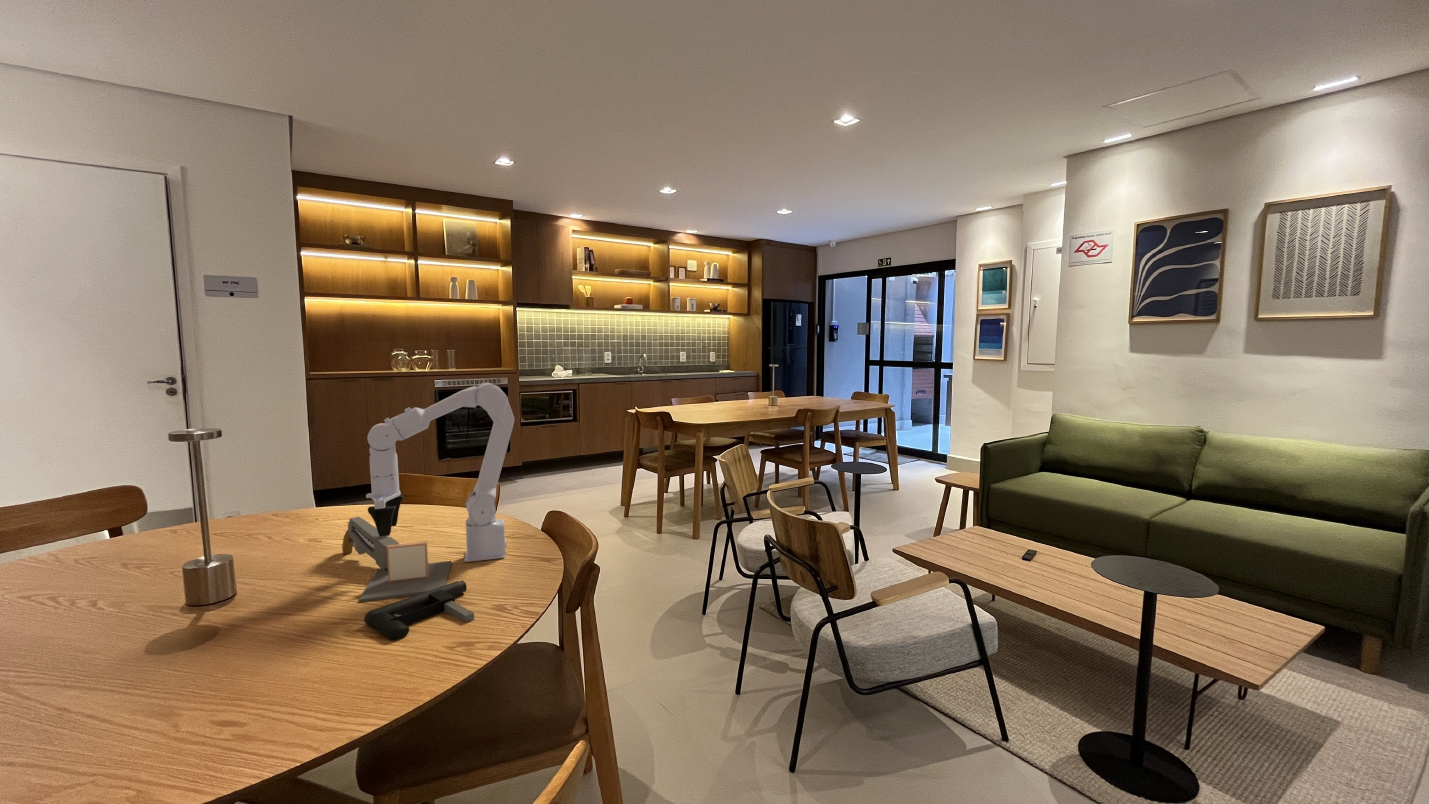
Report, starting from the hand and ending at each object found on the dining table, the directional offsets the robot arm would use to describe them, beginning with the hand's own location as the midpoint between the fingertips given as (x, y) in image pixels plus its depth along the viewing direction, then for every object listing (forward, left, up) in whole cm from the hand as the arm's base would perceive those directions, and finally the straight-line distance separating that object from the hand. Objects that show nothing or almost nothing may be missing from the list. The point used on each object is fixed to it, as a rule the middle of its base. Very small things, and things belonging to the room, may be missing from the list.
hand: (388, 530), depth 139 cm
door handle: (-12, +30, -10) cm, 34 cm away
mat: (-5, +9, -10) cm, 14 cm away
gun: (+6, -7, -9) cm, 13 cm away
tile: (-5, +9, -9) cm, 14 cm away
